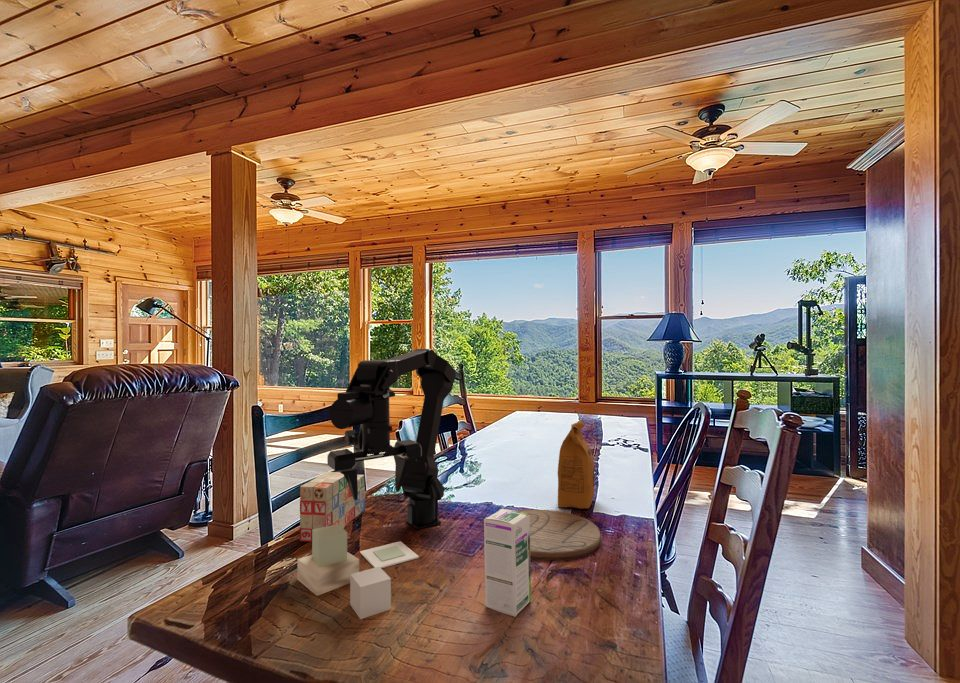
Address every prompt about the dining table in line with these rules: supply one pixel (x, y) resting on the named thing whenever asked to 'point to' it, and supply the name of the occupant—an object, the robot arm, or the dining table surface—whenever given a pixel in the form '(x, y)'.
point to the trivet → (560, 535)
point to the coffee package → (575, 471)
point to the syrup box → (507, 561)
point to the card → (388, 555)
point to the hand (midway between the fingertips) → (376, 495)
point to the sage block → (329, 545)
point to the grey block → (370, 592)
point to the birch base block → (326, 574)
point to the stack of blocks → (328, 503)
